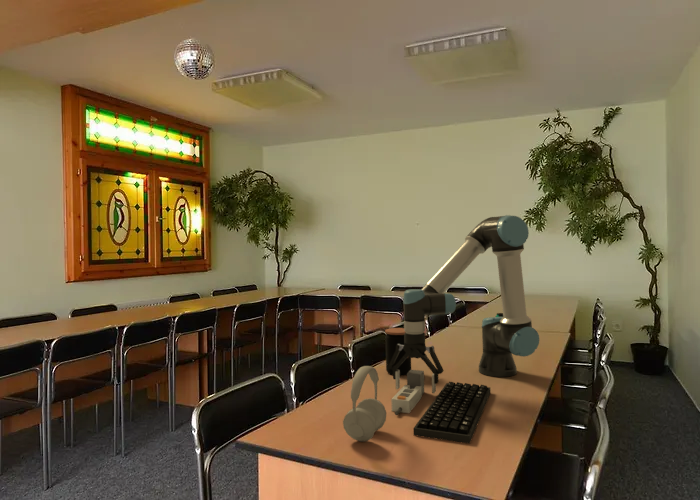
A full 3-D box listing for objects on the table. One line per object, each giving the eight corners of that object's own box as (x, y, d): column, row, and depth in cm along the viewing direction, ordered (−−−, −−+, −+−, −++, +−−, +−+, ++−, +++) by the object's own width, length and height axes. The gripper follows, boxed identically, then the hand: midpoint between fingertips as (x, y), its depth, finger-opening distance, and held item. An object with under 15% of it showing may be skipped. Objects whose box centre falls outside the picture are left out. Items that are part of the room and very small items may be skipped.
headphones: (362, 421, 145) (361, 357, 145) (391, 425, 142) (389, 360, 141) (338, 447, 128) (336, 374, 128) (369, 452, 125) (368, 377, 124)
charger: (424, 392, 172) (423, 370, 172) (418, 400, 164) (417, 377, 164) (411, 391, 174) (410, 369, 174) (404, 398, 166) (403, 376, 166)
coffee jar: (410, 376, 192) (409, 332, 192) (384, 375, 195) (383, 332, 194) (412, 369, 203) (411, 328, 203) (387, 368, 205) (386, 327, 205)
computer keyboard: (469, 445, 128) (469, 431, 128) (413, 437, 134) (413, 424, 134) (490, 394, 169) (490, 384, 169) (446, 390, 176) (446, 380, 176)
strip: (421, 397, 166) (421, 384, 166) (405, 417, 148) (405, 403, 148) (405, 395, 169) (405, 383, 169) (387, 415, 150) (387, 401, 150)
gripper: (450, 332, 169) (451, 390, 169) (385, 328, 179) (386, 383, 179) (446, 336, 162) (447, 397, 162) (378, 332, 172) (379, 389, 172)
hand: (415, 390), depth 171 cm, fingers open, 13 cm apart
